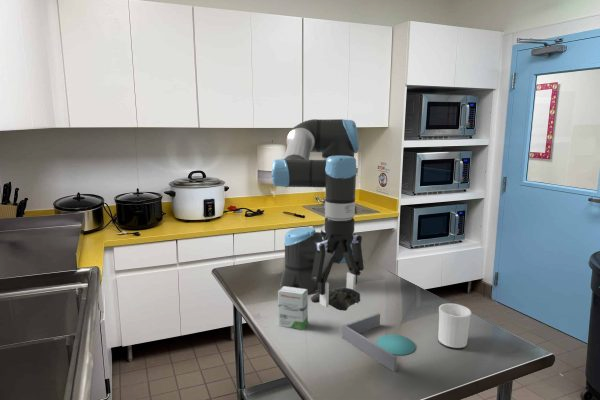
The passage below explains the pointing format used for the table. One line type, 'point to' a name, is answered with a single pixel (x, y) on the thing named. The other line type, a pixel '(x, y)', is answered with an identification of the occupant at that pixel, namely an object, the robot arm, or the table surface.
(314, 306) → the table surface
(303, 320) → the ink box
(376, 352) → the grey angle bracket
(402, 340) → the teal mat
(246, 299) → the table surface
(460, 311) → the mug
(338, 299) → the stone
